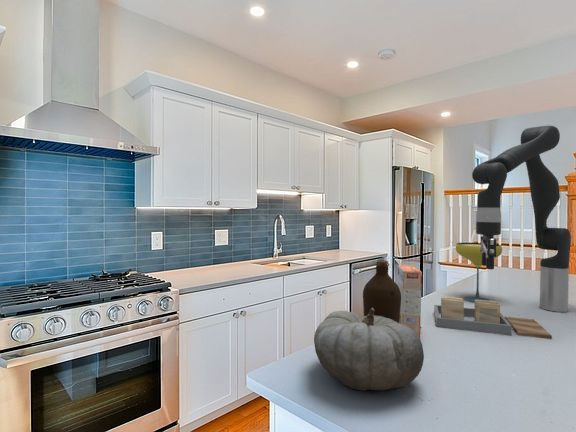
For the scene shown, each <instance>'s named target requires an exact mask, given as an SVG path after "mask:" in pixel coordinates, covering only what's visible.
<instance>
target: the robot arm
mask: <svg viewBox="0 0 576 432" xmlns="http://www.w3.org/2000/svg"><path fill="white" fill-rule="evenodd" d="M560 139H561V135H560V131H559V128H558V127H556V126H555V125H541V126H540V125H539V126H534V127H528V128H524V129H523V131H522V132H521V134H520V144H519V145H515V146H513V147H510V148H508V149H506V150H504V151H502V152H501V153H500V154H498V155H497V156H495V157H493V158H490V159H488V160H485V161H483V162H481V163H479V164H478V165H476V166H475V168H473V170H472V173H471V177H472V180H473V181H474V182H475V183H476V184H479V185H487V188H486V189H484V190H481V191H479V192H478V193H477V199H476V200H477V201H476V215H475V220H476V221H475V234H476V235H481V236H480V243H481V249H480V252H481V255H482V266H484V267H485V268H486V269H487V270H494V269H495V259H496V258H495V257H496V244H497V239H496V238H495V237H494V236H500V235H501V234H502V212H501V201H502V200H501V197H502V194H503V190H504V186H505V184H506V181H507V177H508V174H509V173H511V172H512V171H513V170H515V169H516V168H518V167H519V166H521V165H522V164H524V163H525V166H526V170H527V176H528V182H529V191H530V197H531V202H532V208H533V214H534V215H533V216H534V225H535V226H534V228H535V242H536V246H537V248H538V249H541V250H544V251H545V250H546V251H557V253H556V254H555V255H554V256H551V257H545V258H541V259H540V261H539V262H540V264H539V265H540V267H539V268H540V270H539V271H540V276H539V308H540V309H543V310H545V311H546V310H547V311H550V312H557V313H558V312H559V313H565V312H569V286H570V285H569V281H570V279H569V278H570V277H569V275H570V274H569V271H570V257H571V255H570V253H571V244H572V241H571V240H572V235H571V232H570V230H569V229H568V228H565V227H548V224H547V223H548V218H549V217H550V215H551V212H552V211H554V209H555V207H556V206H557V204H558V203H559V201H560V199H561V192H560V191H561V190H560V185H559V180H558V179H557V177H556V176H555V174H554V173H553V172H552V171H551V170H550V169H549V168H548V167H547V166H546V165H545V164H544V162H543V161H542V158H541V156H540V155H541V154H544V153H547V152H549V151H551V150H553V149H555V148H556V147H558V144H559V142H560ZM494 258H495V259H494Z"/></svg>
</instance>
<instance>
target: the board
mask: <svg viewBox="0 0 576 432" xmlns="http://www.w3.org/2000/svg"><path fill="white" fill-rule="evenodd" d="M504 317H505V319H506V320H507V321H508V322H509V323H510V325H511V326H512V328H513V329H512V331H514V332H515V333H516V334H517V336H522V337H530V338H531V337H532V338H539V339H547V340H552V339H553V336H552V334H551V333H550V332H548V331H547V330H546V329H545V328H544V327H543V326H542V325H541V324H539V323H538V321H536V320H535V318H525V317H524V318H523V317H515V316H514V317H513V316H506V315H505V316H504Z"/></svg>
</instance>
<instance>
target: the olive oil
mask: <svg viewBox="0 0 576 432" xmlns="http://www.w3.org/2000/svg"><path fill="white" fill-rule="evenodd" d="M388 264H389V261H388V260H385V259H384V260H383V259H378V260H376V265H375V274H374V275H373V276H372V277H371V278H370V279H369V280H368V282H366V283H365V285H364V286H363V287H364V288H363V290H362V305H363V308H362V309H363V316H367V315H368V314H369V312H370V309H371V308H374V315H375V316H382V317H385V318H389V319H392V320H394V321H396V322H398V323H400V308H401V292H400V289H399V287H398V283H396V282H395V281H394V279H393V278H392V277H391V276H390V274H389V265H388Z"/></svg>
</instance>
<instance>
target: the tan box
mask: <svg viewBox="0 0 576 432" xmlns="http://www.w3.org/2000/svg"><path fill="white" fill-rule="evenodd" d="M473 309H474V317H473V318H474V319H473V321H477V322H487V323H496V324H500V313H501V304H500V303H499V302H498V301H495V300H491V301H487V300H475V303H474V308H473Z"/></svg>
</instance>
